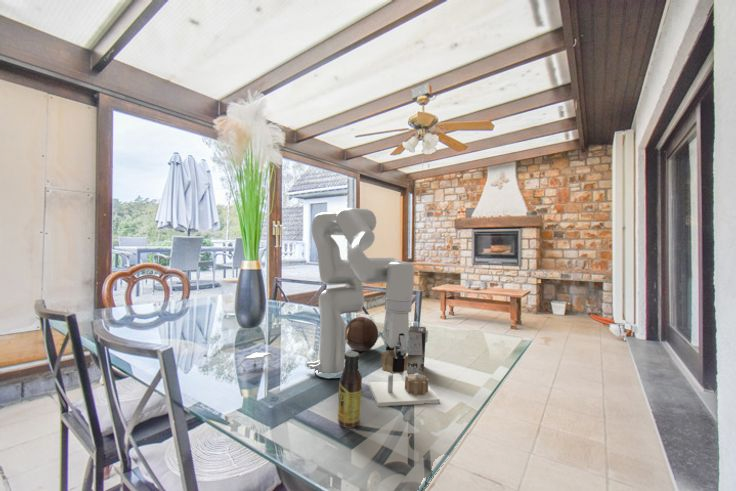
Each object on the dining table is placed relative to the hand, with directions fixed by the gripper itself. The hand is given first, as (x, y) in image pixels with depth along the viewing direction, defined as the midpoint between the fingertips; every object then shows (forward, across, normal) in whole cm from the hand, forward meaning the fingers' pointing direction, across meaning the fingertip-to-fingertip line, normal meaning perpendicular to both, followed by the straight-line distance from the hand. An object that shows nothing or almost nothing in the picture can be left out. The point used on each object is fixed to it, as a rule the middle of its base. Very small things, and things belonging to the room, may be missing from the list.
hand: (394, 365), depth 99 cm
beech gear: (+1, 0, 0) cm, 1 cm away
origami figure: (+17, -40, -43) cm, 61 cm away
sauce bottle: (+16, +2, -12) cm, 20 cm away
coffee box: (+16, -32, +18) cm, 40 cm away
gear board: (+16, -13, +8) cm, 22 cm away
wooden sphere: (+17, -55, 0) cm, 58 cm away
